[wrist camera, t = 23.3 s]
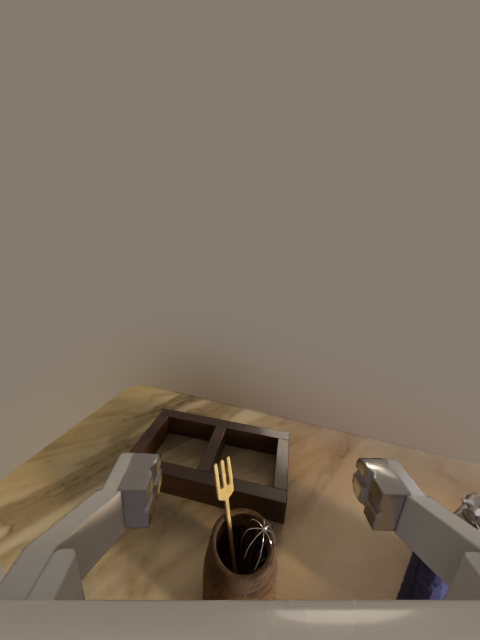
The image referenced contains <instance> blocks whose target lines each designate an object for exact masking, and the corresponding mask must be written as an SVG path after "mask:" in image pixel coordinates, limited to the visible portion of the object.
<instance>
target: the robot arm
mask: <svg viewBox="0 0 480 640" xmlns="http://www.w3.org/2000/svg"><path fill="white" fill-rule="evenodd" d="M161 461H162V460H161V454H150V453H125V452H123V453H122V454H121V455H120V456H119V458H118V459H117V461H116V463H115V465H114V467H113V469H112V471H111V473H110V475H109V476H108V478H107V480H106V482H105V484H104V486H103V488H102V490H97V491H96V492H94V493H93V494H92V495H91V496H89V497H88V498H87V499H85V500H84V501H83V502H82V503H80V504H79V505H78V506H76V507H75V508H74V509H73V510H71V511H70V512H69V513H68V514H66V515H65V516H64V517H62V518H61V519H60V520H59V521H57V522H56V523H55V524H53V525H52V526H51V527H50V528H48V529H47V530H46V531H44V532H43V533H42V534H41V535H39V536H38V537H37V538H36V539H34V540H33V541H32V542H30V543H29V544H28V545H27V546H25V547H24V549H23V550H22V552H21V553H20V555H19V556H18V558H17V559H16V561H15V562H14V563H13V565H12V566H11V568H10V569H9V571H8V572H7V574H6V575H5V577H4V578H3V580H2V581H1V583H0V640H480V531H478V530H477V529H476V528H474V527H473V526H471V525H470V524H468V523H467V522H465V521H464V520H463V519H461V518H460V517H458V516H457V515H455V514H454V513H452V512H451V511H450V510H448V509H447V508H445V507H444V506H442V505H441V504H439V503H438V502H437V501H435V500H434V499H432V498H431V497H429V496H425V495H424V494H423V493H422V492H421V490H420V489H419V488H418V486H417V485H416V484H415V482H414V481H413V480H412V478H411V477H410V476H409V474H408V473H407V472H406V470H405V469H404V468H403V466H402V465H401V464H400V462H399V461H398V460H396V459H381V458H359V459H358V460H357V463H356V467H357V468H358V470H357V471H356V472H355V473H354V475H353V480H352V481H353V489H354V492H355V495H356V497H357V499H358V501H359V502H361V503H362V504H363V505H364V506H365V507H364V514H365V516H366V518H367V520H368V522H369V524H370V526H371V528H372V530H378V531H395V533H396V534H397V535H398V536H399V537H400V538H401V539H402V540H403V541H404V542H405V544H406V545H407V546H408V547H409V548H410V549H411V550H412V551H413V552H414V553H415V554H416V555H417V556H418V557H419V558H420V559H421V560H422V561H423V562H424V563H425V564H426V565H427V566H428V567H429V568H430V569H431V570H432V571H433V572H434V573H435V574H436V575H437V576H438V577H439V578H440V579H441V580H442V581H443V582H444V583H445V584H446V585H447V586H448V590H447V592H446V594H445V596H444V598H443V600H85V596H84V591H83V586H82V582H81V581H82V579H83V578H84V577H85V576H86V575H87V574H88V572H89V571H90V570H91V569H92V568H93V567H94V565H95V564H96V563H97V562H98V561H99V560H100V559H101V557H102V556H103V555H104V554H105V553H106V552H107V550H108V549H109V548H110V547H111V546H112V545H113V543H114V542H115V541H116V540H117V539H118V538H119V536H120V535H121V534H122V533H123V532H124V531H125V528H149V526H150V523H151V520H152V516H153V513H154V510H155V505H154V501H155V500H156V499H157V498H158V496H159V492H160V488H161V483H162V469H161V468H160V465H161Z"/></svg>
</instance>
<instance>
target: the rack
mask: <svg viewBox="0 0 480 640" xmlns="http://www.w3.org/2000/svg"><path fill="white" fill-rule="evenodd" d="M168 433H174V434H178V435H183V436H188V437H193V438H197V439H202V440H207V441H209V443H208V445H207V448H206V450H205V452H204V455H203V457H202V459H201V461H200V464H199V466H198V468H197V470H196V469H192V468H188V467H184V466H179V465H175V464H171V463H167V462H162V461H161V465H160V468H161V469H162V483H161V488H160V492H164V493H168V494H172V495H175V496H179V497H183V498H187V499H191V500H195V501H199V502H202V503H206V504H210V505H214V506H218V507H222V508H225V505H224V500H222V501H219V500H218V498H217V495H216V486H215V476H214V467H213V465H214V464H215V463H216V464H217V466H218V463H219V460H220V458H221V455H222V452H223V449H224V446H225V444H226V445H231V446H235V447H240V448H245V449H250V450H254V451H259V452H264V453H268V454H273V455H276V461H275V472H274V482H273V487H269V486H264V485H260V484H256V483H252V482H247V481H243V480H239V479H235V478H233V486H234V490H233V492H232V494H231V495H230V497H229V508H230V510H232V509H235V508H248V509H251V510H254V511H256V512H257V513H259V514H260V515H261V516H263V517H264V519H268V520H272V521H276V522H279V523H284V519H285V512H286V505H287V483H288V455H289V433H287V432H282V431H277V430H272V429H267V428H261V427H256V426H251V425H246V424H241V423H236V422H230V421H225V420H220V419H215V418H210V417H204V416H199V415H194V414H189V413H184V412H179V411H173V410H168V409H164V410H163V411H162V412H161V413H160V415H159V416H158V417H157V418H156V420H155V421H154V422H153V423H152V425H151V426H150V427H149V428H148V430H147V431H146V432H145V433H144V435H143V436H142V437H141V438H140V440H139V441H138V442H137V443H136V445H135V446H134V447H133V448H132V450H131V451H130V452H129V453H150V454H155V452H156V451H157V449H158V448H159V446H160V445H161V443H162V442H163V440H164V439H165V438H166V436H167V435H168ZM219 482H220V487H221V486H222V478H221V475H219ZM226 483H228V477H226Z"/></svg>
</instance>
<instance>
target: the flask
mask: <svg viewBox="0 0 480 640" xmlns="http://www.w3.org/2000/svg"><path fill="white" fill-rule="evenodd" d="M461 501H462V502H463V504H462V506H461V507H460V508H459V509H457V510H456V511H455V512H454V514H455V515H457V516H458V517H460V518H461V519H463V520H464V521H465V522H467V523H468V524H470V525H471V526H473V527H474V528H476V529H477V530H478V531H480V495H478V494H476V493H472V494H470V495H467V496H466V498H465V499H463V498H462V499H461ZM447 590H448V586H447V585H446V584H445V583H444V582H443V581H442V580H441V579H440V578H439V577H438V576H437V575H436V574H435V573H434V572H433V571H432V570H431V569H430V568H429V567H428V566H427V565H426V564H425V563H424V562H423V561H422V560H421V559H420V558H419V557H418V556H417V555H416V554H415V553H414V552H413V553H412V556H411V559H410V562H409V564H408V567H407V570H406V573H405V575H404V580H403V582H402V584H401V588H400V591H399V593H398V595H397V598H396V600H443V598H444V596H445V594H446V592H447Z"/></svg>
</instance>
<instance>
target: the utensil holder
mask: <svg viewBox="0 0 480 640" xmlns="http://www.w3.org/2000/svg"><path fill="white" fill-rule="evenodd" d="M226 461H227V472H228V483H226V475H225V467H224V460H220V468H221V478H222V486H221V487H220V482H219V474H218V467H217V464H216V463H215V464H214V465H213V467H214V476H215V486H216V495H217V498H218V500H219V501H222V500H224V505H225V513H224V514H223V515H222V516H221V517H220V518H219V519H218V520H217V522H216V523H215V525H214V527H213V530H212V533H211V536H210V540H209V545H208V548H207V551H206V555H205V561H204V573H203V598H204V600H274V599H275V593H276V586H277V575H278V567H277V558H276V545H277V543H276V545H275V538H274V535H275V534H274V533H273V532H272V529H273V526H272V529H271V527H270V525H273V524H270V525H269V524H268V522H267V521H266V520H265V519H264V517H263V516H261V515H260V514H259V513H257V512H256V511H254V510H251V509H248V508H235V509H232V510H230V508H229V497H230V495H231V494H232V492H233V490H234V486H233V478H232V470H231V463H230V457H229V456H227V457H226ZM275 536H276V535H275ZM276 538H277V537H276ZM277 542H278V539H277Z"/></svg>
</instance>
